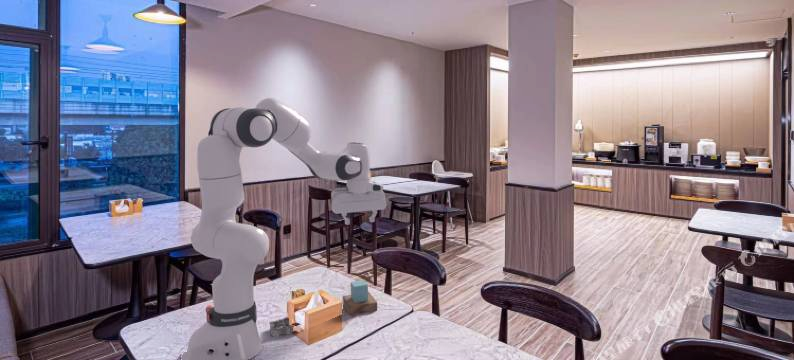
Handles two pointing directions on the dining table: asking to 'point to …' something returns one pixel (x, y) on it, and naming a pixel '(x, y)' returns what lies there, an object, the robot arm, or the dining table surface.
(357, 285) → the teal block
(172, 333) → the dining table surface
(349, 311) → the walnut plinth
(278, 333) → the egg carton
